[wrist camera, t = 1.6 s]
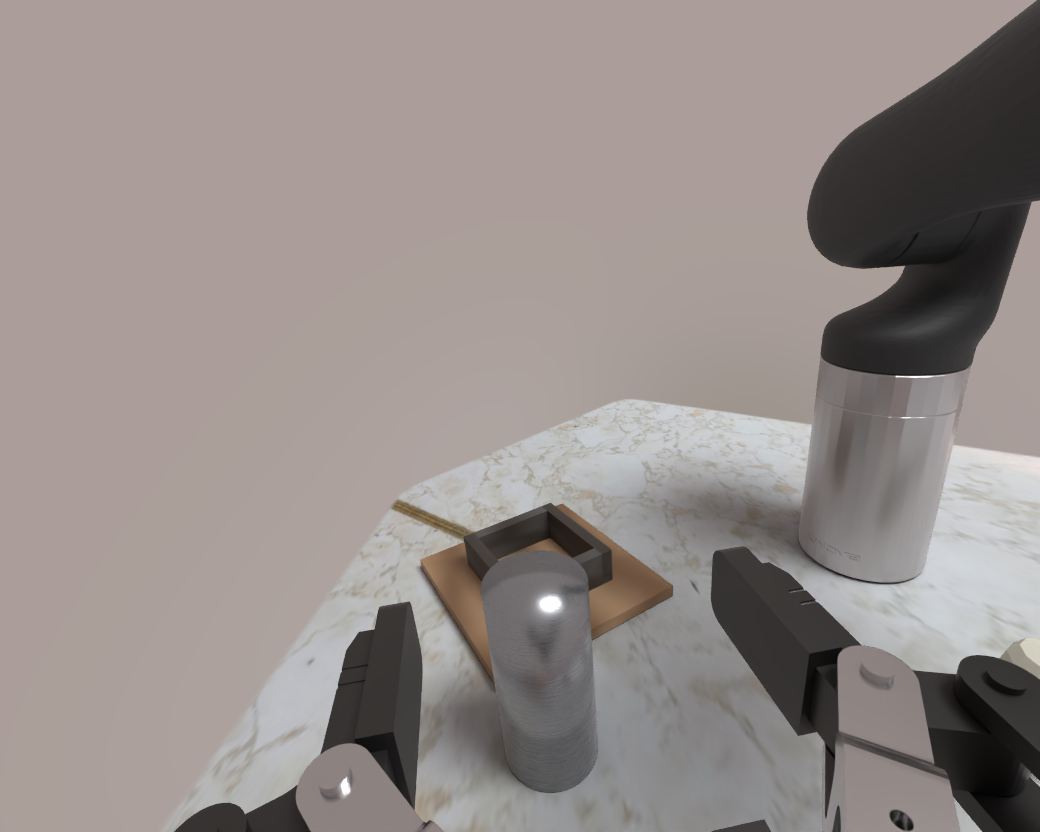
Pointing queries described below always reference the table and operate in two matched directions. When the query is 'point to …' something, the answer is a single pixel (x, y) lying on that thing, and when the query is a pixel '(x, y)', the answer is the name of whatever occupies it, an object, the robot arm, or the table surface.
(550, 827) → the table surface
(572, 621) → the grey metal cylinder
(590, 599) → the wooden board with frame
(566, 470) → the table surface
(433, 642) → the table surface
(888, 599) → the table surface
